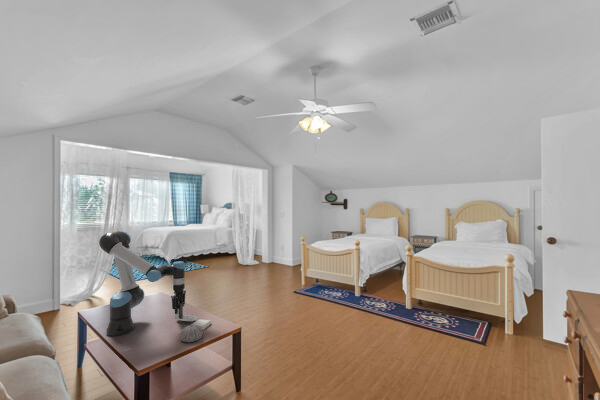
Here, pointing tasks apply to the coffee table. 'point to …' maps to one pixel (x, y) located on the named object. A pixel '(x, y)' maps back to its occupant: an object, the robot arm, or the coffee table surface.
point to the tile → (202, 323)
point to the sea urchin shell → (191, 333)
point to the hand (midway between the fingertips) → (178, 317)
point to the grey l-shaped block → (185, 317)
